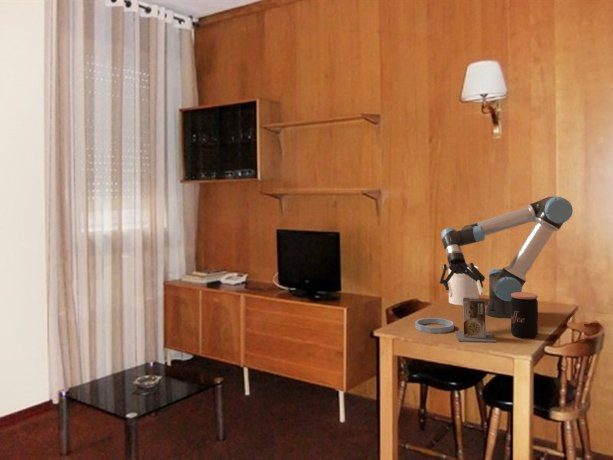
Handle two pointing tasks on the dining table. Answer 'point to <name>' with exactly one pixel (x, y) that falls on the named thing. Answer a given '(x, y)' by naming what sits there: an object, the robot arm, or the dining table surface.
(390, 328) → the dining table surface
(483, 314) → the coffee box
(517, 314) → the coffee jar
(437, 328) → the faceted grey ring
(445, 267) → the robot arm
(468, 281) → the canister
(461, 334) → the rubber mat
